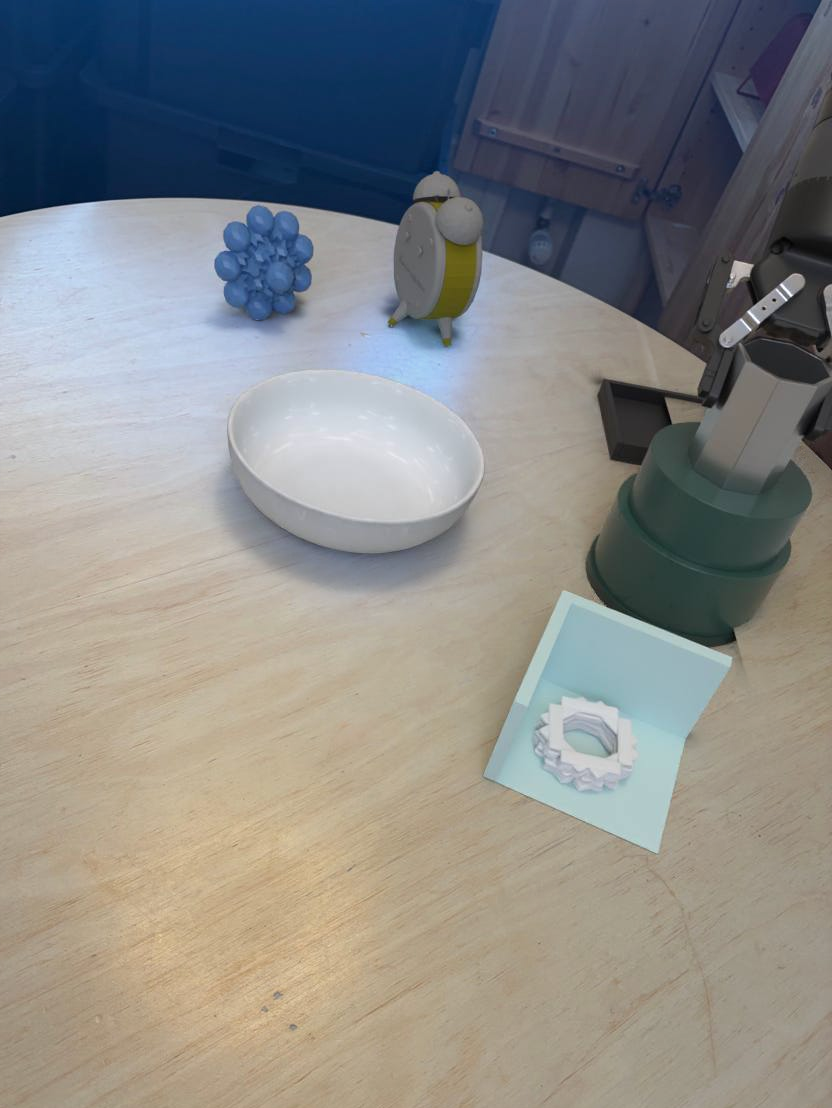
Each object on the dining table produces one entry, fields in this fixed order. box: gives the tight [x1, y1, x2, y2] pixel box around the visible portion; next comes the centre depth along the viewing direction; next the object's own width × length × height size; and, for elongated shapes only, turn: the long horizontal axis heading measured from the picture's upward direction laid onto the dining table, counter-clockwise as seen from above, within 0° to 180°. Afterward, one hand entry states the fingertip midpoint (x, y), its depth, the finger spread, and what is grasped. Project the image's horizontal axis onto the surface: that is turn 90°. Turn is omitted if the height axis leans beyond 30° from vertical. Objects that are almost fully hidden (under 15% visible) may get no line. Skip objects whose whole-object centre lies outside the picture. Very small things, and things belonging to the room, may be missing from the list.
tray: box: [597, 378, 704, 466], centre depth 99 cm, size 12×12×2 cm
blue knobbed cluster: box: [213, 204, 314, 321], centre depth 99 cm, size 12×7×12 cm, turn 124°
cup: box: [688, 335, 832, 495], centre depth 71 cm, size 6×6×9 cm
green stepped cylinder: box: [585, 421, 813, 648], centre depth 78 cm, size 15×15×12 cm
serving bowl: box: [226, 368, 486, 554], centre depth 81 cm, size 21×21×7 cm
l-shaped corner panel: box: [482, 589, 733, 855], centre depth 65 cm, size 12×12×8 cm
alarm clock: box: [387, 170, 484, 347], centre depth 103 cm, size 12×7×15 cm, turn 19°
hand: (760, 420), depth 70 cm, fingers closed on cup, 7 cm apart
